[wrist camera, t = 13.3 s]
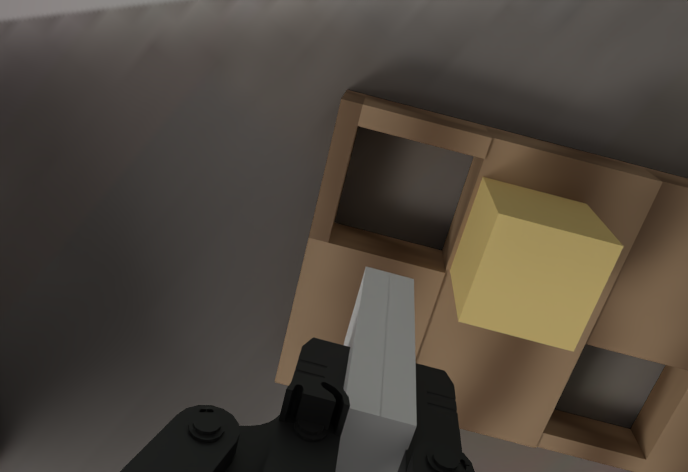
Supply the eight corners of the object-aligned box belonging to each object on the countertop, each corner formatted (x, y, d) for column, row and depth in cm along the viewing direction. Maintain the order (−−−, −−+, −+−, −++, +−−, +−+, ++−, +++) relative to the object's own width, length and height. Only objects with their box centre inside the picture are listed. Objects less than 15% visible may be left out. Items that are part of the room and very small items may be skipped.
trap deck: (284, 353, 35) (262, 416, 30) (346, 89, 29) (334, 110, 24) (703, 462, 35) (756, 544, 30) (856, 222, 29) (955, 272, 24)
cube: (450, 270, 29) (458, 321, 25) (482, 176, 27) (498, 213, 23) (547, 295, 29) (573, 351, 25) (586, 203, 27) (623, 246, 23)
